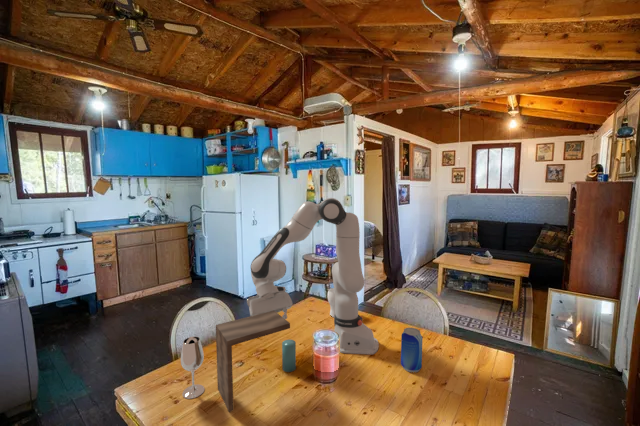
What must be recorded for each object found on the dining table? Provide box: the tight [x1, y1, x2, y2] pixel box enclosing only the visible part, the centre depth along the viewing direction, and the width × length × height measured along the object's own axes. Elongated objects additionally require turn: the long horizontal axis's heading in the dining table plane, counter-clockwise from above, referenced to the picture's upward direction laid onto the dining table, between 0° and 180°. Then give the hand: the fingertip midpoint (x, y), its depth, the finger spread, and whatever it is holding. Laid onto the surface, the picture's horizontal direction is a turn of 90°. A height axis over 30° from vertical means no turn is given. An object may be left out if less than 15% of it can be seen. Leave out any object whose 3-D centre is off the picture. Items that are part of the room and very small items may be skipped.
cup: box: [326, 287, 335, 318], centre depth 176 cm, size 11×11×15 cm
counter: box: [215, 311, 291, 413], centre depth 111 cm, size 14×24×25 cm, turn 124°
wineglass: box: [180, 336, 205, 400], centre depth 109 cm, size 8×8×20 cm
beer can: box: [400, 327, 423, 373], centre depth 124 cm, size 8×8×16 cm
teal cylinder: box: [281, 339, 297, 373], centre depth 124 cm, size 6×6×11 cm
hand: (276, 321), depth 133 cm, fingers open, 8 cm apart
